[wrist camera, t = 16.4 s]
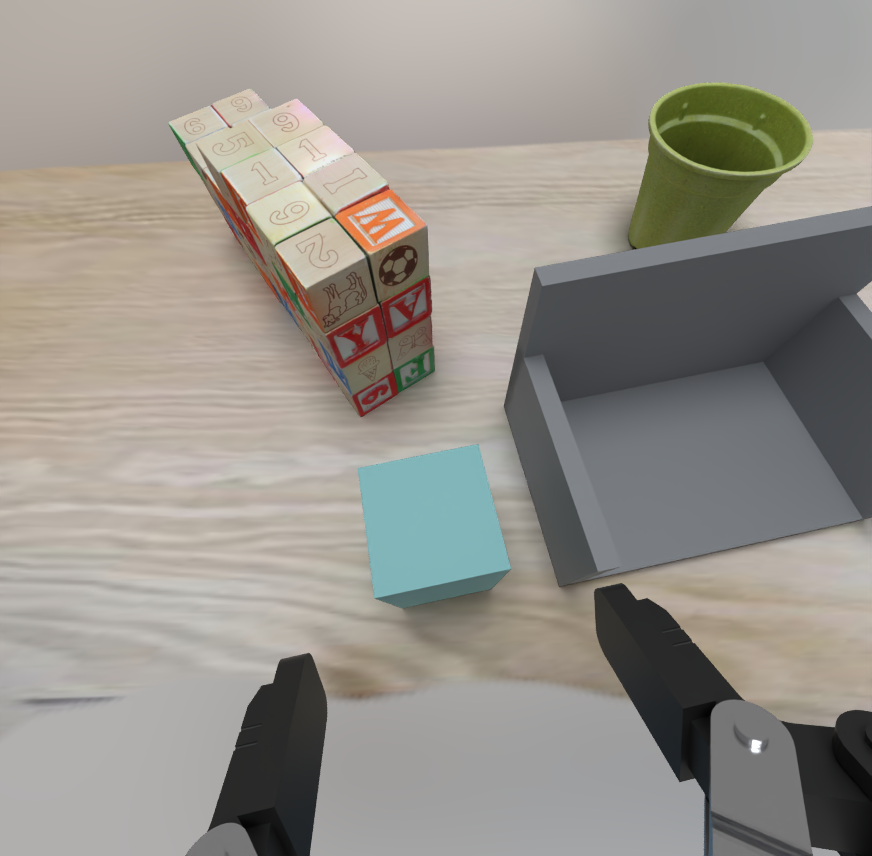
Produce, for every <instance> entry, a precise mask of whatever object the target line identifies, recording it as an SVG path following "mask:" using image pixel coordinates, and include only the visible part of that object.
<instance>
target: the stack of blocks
mask: <svg viewBox="0 0 872 856" xmlns="http://www.w3.org/2000/svg"><path fill="white" fill-rule="evenodd" d="M169 126H170V127H171V129H172V131H173V133H174V135H175V136H176V138H177V140H178V142H179V143H180V145H181V147H182V149H183V151H184V152H185V154H186V156H187V157H188V159H189V161H190V163H191V164H192V166H193V167H194V169H195V170H196V171H197V173H198V174H199V175H200V177H201V179H202V181H203V182H204V184H205V186H206V188H207V189H208V191H209V193H210V195H211V196H212V198H213V200H214V202H215V203H216V205H217V206H218V208H219V209H220V211H221V213H222V214H223V216H224V218H225V220H226V222H227V224H228V225H229V227H230V229H231V230H232V232H233V234H234V235H235V237H236V238H237V240H238V241H239V242H240V244H241V245H242V246H243V248H244V250H245V251H246V253H247V255H248V256H249V258H250V259H251V261H252V262H253V264H254V265H255V267H256V268H257V269H258V271H259V272H260V274H261V275H262V276H263V278H264V279H265V281H266V282H267V284H268V285H269V287H270V288H271V289H272V291H273V292H274V294H275V295H276V297H277V298H278V299H279V301H280V302H282V303H283V305H284V306H285V308H286V309H287V311H288V312H289V313H290V315H291V316H292V318H293V319H294V321H295V322H296V324H297V325H298V326H299V327H300V329H301V330H302V332H303V333H304V335H305V336H306V337H307V339H308V340H309V342H310V343H311V345H312V346H313V347H314V349H315V350H316V352H317V353H318V356H319V357H320V359H321V360H322V362H323V363H324V365H325V366H326V368H327V369H328V370H329V372H330V373H331V375H332V376H333V378H334V379H335V381H336V382H337V383H338V385H339V387H340V389H341V390H342V392H343V393H344V394H345V396H346V397H347V399H348V400H349V402H350V403H351V405H352V406H353V408H354V409H355V410H356V412H357V413H358V415H359V416H360V417H362V416H364V415H365V414H367V413H368V412H370V411H372V410H373V409H375V408H376V407H378V406H380V405H381V404H383V403H385V402H386V401H388V400H389V399H391V398H392V397H394V396H396V395H397V394H398V393H400V392H401V391H403V390H404V389H406V388H408V387H409V386H411V385H413V384H414V383H416V382H417V381H419V380H421V379H422V378H424V377H426V376H427V375H429V374H431V373H432V372H434V371H435V366H434V346H433V344H432V321H431V313H432V300H431V280H430V276H429V252H428V229H427V224H426V223H425V222H424V221H423V220H422V219H421V218H420V217H419V216H418V215H417V214H416V213H415V212H414V211H413V210H412V209H411V208H410V207H409V206H408V205H407V204H406V203H405V202H404V201H403V200H402V199H401V198H400V197H398V196H397V195H396V194H395V193H394V192H393V191H392V190H390V189H389V185H388V183H387V181H386V180H385V179H383V178H382V177H381V176H380V175H379V174H378V173H377V172H376V171H375V170H374V169H373V168H372V167H371V166H370V165H369V164H368V163H367V162H365V161H364V160H363V159H362V158H361V157H360V156H359V155H358V154H356V153H355V151H354V150H353V149H352V148H351V147H350V146H349V145H348V144H347V143H346V142H344V141H343V140H342V139H341V138H340V137H339V136H338V135H337V134H336V133H335V132H334V131H333V130H332V129H330V128H329V127H328V126H324V124H323V122H322V121H321V120H320V119H319V118H317V117H316V116H315V115H314V114H313V113H312V112H311V111H310V110H309V109H308V108H306V106H305V105H304V104H302V103H301V102H300V101H299V100H298V99H295V100H292V101H289V102H287V103H285V104H283V105H280V106H278V107H276V108H274V109H270V108H269V107H268V106H267V104H266V103H265V102H264V101H263V100H262V99H261V98H260V97H259V96H258V95H257V94H256V93H255V92H254V91H253V90H252V89H248V90H245V91H243V92H240V93H238V94H235V95H233V96H230V97H228V98H225V99H222V100H220V101H217V102H215V103H213V104H212V105H211V106H208V107H205V108H203V109H200V110H198V111H195V112H193V113H190V114H188V115H185V116H183V117H180V118H178V119H176V120H173V121H171V122H169Z"/></svg>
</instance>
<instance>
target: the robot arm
mask: <svg viewBox="0 0 872 856" xmlns="http://www.w3.org/2000/svg"><path fill="white" fill-rule="evenodd" d="M594 600H595V619H596V632H597V637H598V640H599V643H600V646H601V648H602V651H603V653H604V655H605V656H606V658H607V660H608V661H609V663H610V665H611V667H612V668H613V670H614V672H615V673H616V675H617V677H618V678H619V680H620V682H621V683H622V685H623V687H624V689H625V690H626V692H627V694H628V695H629V697H630V699H631V700H632V702H633V704H634V706H635V707H636V709H637V710H638V712H639V714H640V716H641V717H642V719H643V721H644V722H645V724H646V726H647V728H648V729H649V731H650V733H651V734H652V736H653V738H654V739H655V741H656V743H657V744H658V746H659V748H660V750H661V751H662V753H663V755H664V756H665V758H666V760H667V761H668V763H669V765H670V766H671V768H672V770H673V772H674V773H675V775H676V777H677V778H678V780H679V782H682V781H686V780H690V779H694V778H695V779H696V780H697V782H698V783H699V785H700V787H701V788H702V790H703V792H704V793H705V801H704V802H705V803H704V808H705V809H704V856H813V854H812V849H811V847H816V848H822V849H829V850H835V851H837V852H838V853H839V854H840V856H872V712H869V711H863V710H852V711H847V712H844V713H843V714H841V715H840V716H839V717H838V719H837V721H836V725H835V727H824V726H814V725H804V724H794V723H788V722H784V721H780V720H778V719H777V718H776V717H775V716H774V715H772V714H771V713H770V712H768V711H767V710H765V709H763V708H762V707H760V706H758V705H755V704H753V703H750V702H747V701H745V700H743V699H742V698H741V697H740V696H739V694H738V693H737V692H736V691H735V690H734V689H733V688H732V686H731V685H730V684H729V683H728V682H727V681H726V679H725V678H724V677H723V676H722V675H721V674H720V672H719V671H718V670H717V669H716V668H715V667H714V665H713V664H712V663H711V662H710V661H709V660H708V658H707V657H706V656H705V655H704V654H703V653H702V651H701V650H700V649H699V648H698V647H697V646H696V644H695V643H693V642H692V640H691V638H690V637H689V636H688V635H687V634H686V633H685V631H684V630H681V628H680V626H679V624H678V623H677V622H676V621H675V620H674V619H673V617H672V616H671V615H670V614H669V613H668V612H667V610H665V609H663V608H662V607H660V606H659V605H657V604H656V603H654V602H653V601H651V600H649V599H648V598H646V599H642V600H638V601H637V600H636V598H635V597H634V596H633V595H632V593H631V592H630V591H629V590H628V588H627V587H626V586H625V585H624V584H622V583H619V584H615V585H611V586H606V587H602V588H597V589H595V591H594ZM326 722H327V700H326V694H325V691H324V688H323V685H322V682H321V680H320V677H319V674H318V671H317V669H316V666H315V663H314V660H313V658H312V656H311V654H310V653H307V654H302V655H298V656H294V657H289V658H285V659H281V660H280V662H279V664H278V667H277V671H276V674H275V678H274V682H273V683H272V684H267V685H263V686H261V688H260V689H259V690H258V692H257V694H256V695H255V696H254V698H253V699H252V701H251V702H250V704H249V705H248V707H247V711H246V714H245V717H244V720H243V723H242V726H241V732H240V733H239V736H238V739H237V742H236V745H235V747H236V749H235V751H234V752H233V755H232V758H231V761H230V764H229V768H228V771H227V774H226V777H225V780H224V783H223V786H222V790H221V793H220V796H219V799H218V802H217V806H216V809H215V812H214V815H213V818H212V821H211V824H210V827H209V829H208V831H207V833H206V834H205V835H203V836H202V837H201V838H200V839H199V840H198V841H197V842H196V843H195V844H194V845H193V846H192V847H191V849H190V850H189V851H188V853H187V854H186V856H310V848H311V840H312V832H313V824H314V817H315V808H316V800H317V793H318V785H319V777H320V769H321V761H322V754H323V746H324V738H325V730H326Z"/></svg>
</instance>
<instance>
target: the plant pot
mask: <svg viewBox="0 0 872 856" xmlns="http://www.w3.org/2000/svg"><path fill="white" fill-rule="evenodd" d="M648 125H649V131H650V139H649V146H648V151H649V156H648V160H647V164H646V168H645V172H644V176H643V180H642V183H641V187H640V191H639V195H638V198H637V202H636V206H635V209H634V213H633V216H632V220H631V225H630V228H629V241H630V244H631V245H632V246H634V247H636V248H637V249H640V248H646V247H651V246H657V245H662V244H668V243H673V242H679V241H684V240H690V239H695V238H701V237H706V236H712V235H717V234H723V233H725V232H726V231H727V230H728V229H729V228H730V227H731V225H732V224H733V223H734V222H735V221H736V220H737V219H738V218H739V217H740V215H741V214H742V213H743V212H744V211H745V210H746V209H747V208H748V206H749V205H750V204H751V203H752V202H753V201H754V200H755V199H756V198H757V197H758V195H759V194H760V193H761V192H762V191H763V190H764V189H765V188H767V187H769V186H770V185H771V184H773V183H774V182H775V181H776V180H777V179H778V178H779V177H780V176H781V175H782V174H784V173H786V172H788V171H790V170H791V169H793V168H795V167H796V166H797V165H799V164H800V163H801V162H802V161H803V160H804V158H805V157H806V156H807V155H808V153H809V152H810V149H811V147H812V144H813V135H812V131H811V127H810V125H809V123H808V122H807V121H806V119H805V118H804V117H803V115H802V114H801V113H800V112H799V111H798V110H797V109H796V108H794V107H793V106H792V105H790V104H789V103H787V102H786V101H785V100H783V99H781V98H779V97H777V96H775V95H772V94H769V93H767V92H764V91H762V90H759V89H756V88H752V87H749V86H744V85H739V84H731V83H721V82H719V83H698V84H693V85H689V86H684V87H681V88H678V89H675V90H673V91H671V92H669V93H667V94H665V95H664V96H663V97H661V98H660V99H659V100H658V101H657V102H656V103H655V105H654V106H653V108H652V110H651V113H650V116H649V123H648Z"/></svg>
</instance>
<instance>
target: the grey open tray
mask: <svg viewBox="0 0 872 856" xmlns="http://www.w3.org/2000/svg"><path fill="white" fill-rule="evenodd" d="M871 281H872V206H871V207H865V208H860V209H854V210H849V211H843V212H838V213H832V214H827V215H821V216H816V217H810V218H805V219H799V220H794V221H788V222H783V223H778V224H772V225H767V226H761V227H756V228H750V229H745V230H739V231H734V232H728V233H723V234H717V235H712V236H706V237H701V238H695V239H690V240H684V241H679V242H673V243H668V244H662V245H657V246H651V247H646V248H640V249H635V250H630V251H624V252H619V253H613V254H608V255H602V256H597V257H591V258H586V259H580V260H575V261H569V262H564V263H558V264H553V265H547V266H542V267H536V268H535V269H534V274H533V278H532V283H531V287H530V292H529V296H528V301H527V305H526V310H525V314H524V318H523V323H522V327H521V332H520V336H519V341H518V345H517V350H516V354H515V359H514V363H513V367H512V372H511V376H510V381H509V385H508V390H507V394H506V399H505V403H504V408H505V411H506V414H507V418H508V421H509V424H510V427H511V431H512V434H513V437H514V440H515V444H516V447H517V450H518V454H519V457H520V460H521V463H522V467H523V470H524V473H525V476H526V480H527V483H528V486H529V489H530V493H531V496H532V499H533V503H534V506H535V509H536V512H537V516H538V519H539V522H540V525H541V529H542V532H543V535H544V538H545V542H546V545H547V548H548V551H549V555H550V558H551V561H552V565H553V568H554V571H555V574H556V578H557V581H558V584H559V587H560V586H565V585H569V584H574V583H578V582H583V581H587V580H592V579H596V578H601V577H605V576H610V575H614V574H619V573H623V572H628V571H632V570H637V569H641V568H646V567H651V566H655V565H660V564H664V563H669V562H673V561H678V560H682V559H687V558H691V557H696V556H700V555H705V554H709V553H714V552H718V551H723V550H727V549H732V548H736V547H741V546H746V545H750V544H755V543H759V542H764V541H768V540H773V539H777V538H782V537H786V536H791V535H795V534H800V533H804V532H809V531H813V530H818V529H822V528H827V527H832V526H836V525H841V524H845V523H850V522H854V521H859V520H863V519H867V518H871V517H872V312H871V311H870V310H869V309H868V307H867V306H866V305H865V304H864V303H863V301H862V300H861V299H860V298H859V296H858V295H857V294H856V293H858V292H859V291H860V290H861V289H862V288H864V287H865V286H866V285H867V284H868V283H870V282H871Z"/></svg>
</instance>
